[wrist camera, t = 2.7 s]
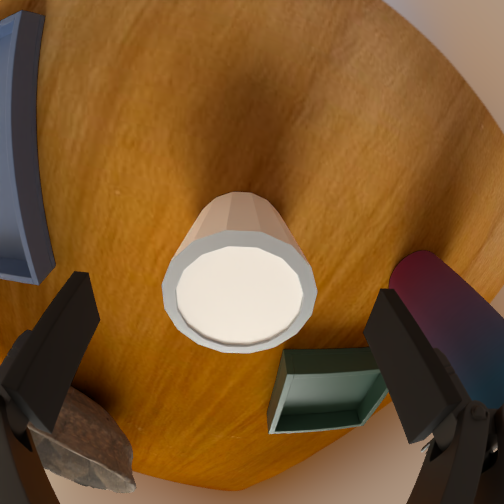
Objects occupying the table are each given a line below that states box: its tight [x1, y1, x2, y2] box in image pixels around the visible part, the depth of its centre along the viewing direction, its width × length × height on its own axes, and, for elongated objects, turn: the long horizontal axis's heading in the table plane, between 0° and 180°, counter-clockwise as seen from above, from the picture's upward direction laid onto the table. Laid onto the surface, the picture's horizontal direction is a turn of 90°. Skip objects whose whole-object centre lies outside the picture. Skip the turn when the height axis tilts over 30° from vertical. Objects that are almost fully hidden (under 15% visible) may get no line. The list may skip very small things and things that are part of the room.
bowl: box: [27, 386, 136, 493], centre depth 24 cm, size 21×21×10 cm
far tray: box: [267, 347, 389, 434], centre depth 26 cm, size 11×11×3 cm
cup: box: [389, 250, 504, 450], centre depth 14 cm, size 7×7×15 cm
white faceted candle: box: [162, 192, 317, 353], centre depth 16 cm, size 7×7×7 cm
